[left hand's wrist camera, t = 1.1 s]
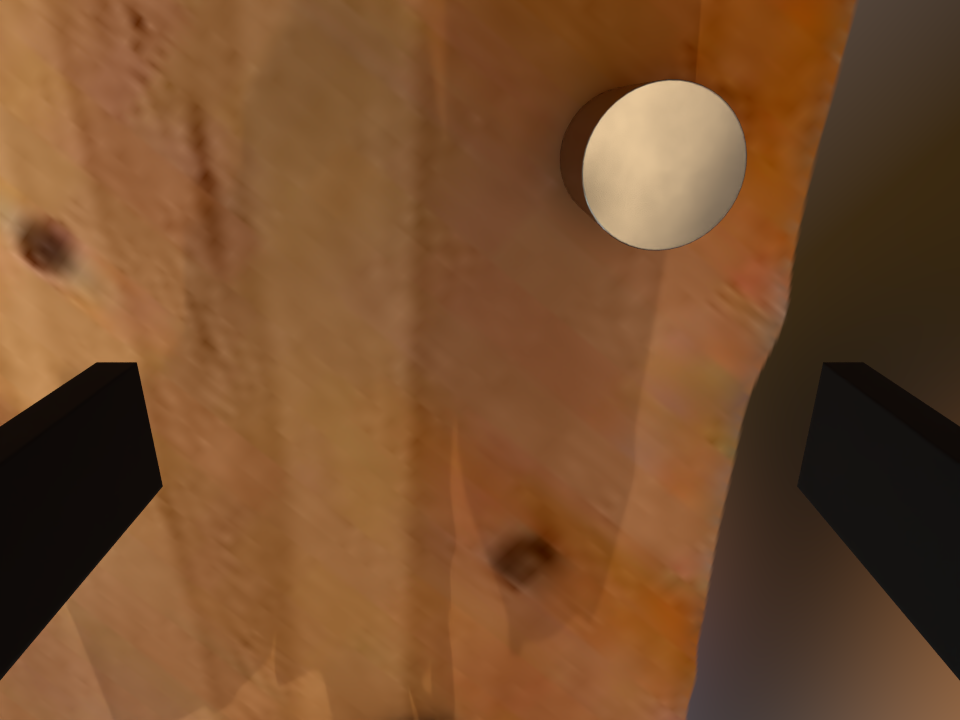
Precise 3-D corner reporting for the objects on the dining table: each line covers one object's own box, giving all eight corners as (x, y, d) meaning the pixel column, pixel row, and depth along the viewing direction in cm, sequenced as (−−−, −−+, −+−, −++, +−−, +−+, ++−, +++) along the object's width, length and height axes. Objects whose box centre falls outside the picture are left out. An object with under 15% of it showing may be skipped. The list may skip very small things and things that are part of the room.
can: (580, 72, 32) (608, 60, 25) (708, 103, 33) (772, 101, 26) (545, 207, 35) (562, 231, 28) (665, 234, 35) (713, 265, 28)
